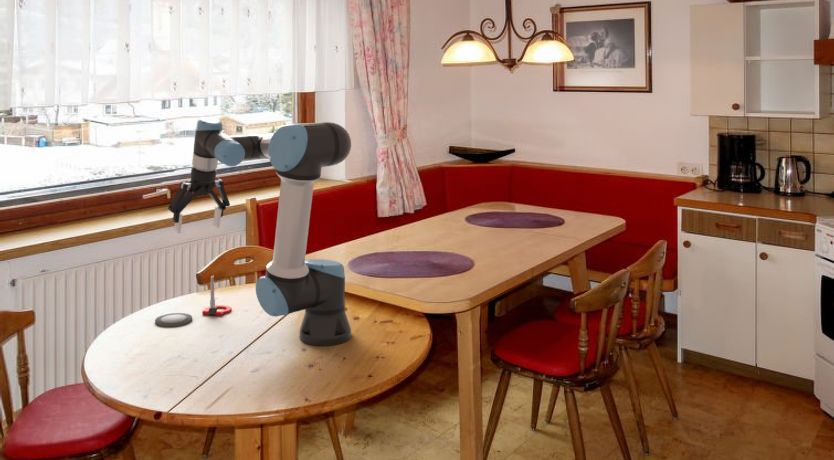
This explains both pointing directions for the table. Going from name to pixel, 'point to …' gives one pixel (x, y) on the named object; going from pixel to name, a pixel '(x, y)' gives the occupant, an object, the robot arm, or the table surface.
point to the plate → (173, 320)
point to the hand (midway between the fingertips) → (197, 228)
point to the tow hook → (213, 309)
